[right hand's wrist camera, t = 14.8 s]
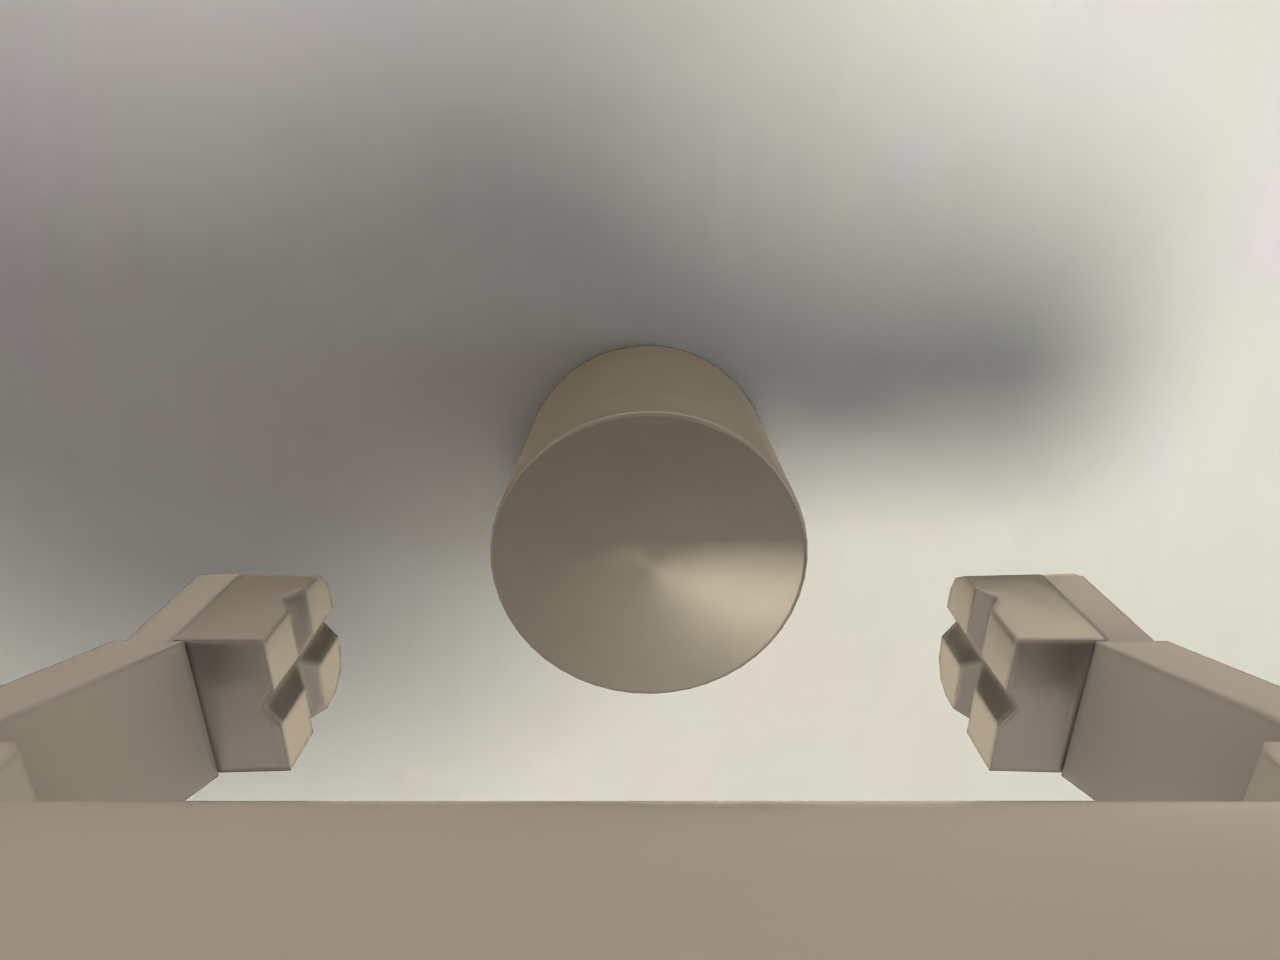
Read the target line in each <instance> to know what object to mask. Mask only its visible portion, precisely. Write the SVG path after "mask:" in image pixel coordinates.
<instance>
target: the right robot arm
mask: <svg viewBox="0 0 1280 960" xmlns="http://www.w3.org/2000/svg"><path fill="white" fill-rule="evenodd" d="M332 607H333V604H332V600H331V595H330V590H329V586H328V583H327V582H326V581H325V580H324V579H323V578H322V577H321V576H294V575H242V574H214V575H200V576H197V577H196V578H195V579H194V580H193V581H191V582H190V583H189V584H188V585H187V586H186V587H185V588H184V589H183V590H182V591H180V592H179V593H178V594H177V595H176V596H175V597H174V598H173V599H172V600H171V601H169V602H168V603H167V604H166V605H165V606H164V607H163V608H162V609H161V610H159V611H158V612H157V613H156V614H155V615H154V616H153V617H152V618H151V619H150V620H148V621H147V622H146V623H145V624H144V625H143V626H142V627H141V628H140V629H139V630H137V631H136V632H135V633H134V634H133V635H132V636H131V637H130V638H129V639H128V640H126V641H112V642H109V643H107V644H104V645H102V646H99V647H97V648H94V649H92V650H89V651H87V652H84V653H82V654H79V655H77V656H74V657H72V658H69V659H67V660H64V661H62V662H59V663H57V664H54V665H52V666H50V667H47V668H45V669H42V670H40V671H37V672H35V673H32V674H30V675H27V676H25V677H22V678H20V679H17V680H15V681H12V682H10V683H7V684H5V685H2V686H0V960H1280V686H1278V685H1275V684H1273V683H1270V682H1268V681H1265V680H1263V679H1260V678H1258V677H1255V676H1253V675H1250V674H1248V673H1245V672H1243V671H1240V670H1238V669H1235V668H1233V667H1230V666H1228V665H1225V664H1223V663H1220V662H1218V661H1215V660H1213V659H1210V658H1208V657H1205V656H1203V655H1201V654H1198V653H1196V652H1193V651H1191V650H1188V649H1186V648H1183V647H1181V646H1178V645H1176V644H1173V643H1171V642H1168V641H1154V640H1153V639H1151V638H1150V637H1149V636H1148V635H1147V634H1146V633H1145V632H1144V631H1143V630H1142V629H1140V628H1139V627H1138V626H1137V625H1136V624H1135V623H1134V622H1133V621H1132V620H1131V619H1129V618H1128V617H1127V616H1126V615H1125V614H1124V613H1123V612H1122V611H1121V610H1120V609H1118V608H1117V607H1116V606H1115V605H1114V604H1113V603H1112V602H1111V601H1110V600H1109V599H1107V598H1106V597H1105V596H1104V595H1103V594H1102V593H1101V592H1100V591H1099V590H1098V589H1096V588H1095V587H1094V586H1093V585H1092V584H1091V583H1090V582H1089V581H1088V580H1087V579H1085V578H1084V577H1083V576H1079V575H1076V574H1052V575H1041V574H1038V575H996V576H964V577H958V578H955V580H954V583H953V585H952V587H951V589H950V593H949V599H948V604H947V607H948V609H949V611H950V612H951V614H952V615H953V617H954V618H955V620H956V622H955V623H954V624H953V625H952V627H951V628H950V629H949V630H948V631H947V632H946V633H945V634H944V635H943V636H942V640H941V647H940V654H939V665H940V676H941V682H942V685H943V688H944V692H945V695H946V696H947V698H948V700H949V702H950V704H951V706H952V707H953V708H954V709H955V710H957V711H958V712H960V713H962V714H963V715H965V716H966V717H968V718H969V724H968V729H967V733H968V735H969V737H970V738H971V740H972V742H973V743H974V745H975V747H976V748H977V750H978V752H979V754H980V755H981V757H982V759H983V760H984V762H985V764H986V765H987V767H988V769H989V771H1026V772H1062V775H1061V776H1063V777H1064V778H1065V779H1067V780H1068V781H1069V782H1071V783H1072V784H1073V785H1075V786H1076V787H1077V788H1079V789H1080V790H1082V791H1083V792H1084V793H1086V794H1087V795H1088V796H1090V797H1091V798H1092V799H1094V800H1095V801H185V800H187V799H188V798H189V797H191V796H192V795H193V794H195V793H196V792H197V791H199V790H200V789H201V788H203V787H204V786H205V785H207V784H208V783H210V782H211V781H212V780H214V779H215V778H216V777H218V772H253V771H289V770H291V769H292V767H293V766H294V764H295V762H296V760H297V759H298V757H299V755H300V754H301V752H302V750H303V749H304V747H305V745H306V743H307V742H308V740H309V738H310V737H311V735H312V733H313V729H312V724H311V718H312V717H314V716H315V715H317V714H318V713H320V712H322V711H323V710H325V709H326V708H327V707H328V705H329V704H330V702H331V700H332V698H333V696H334V694H335V693H336V688H337V684H338V680H339V676H340V671H341V652H340V646H339V639H338V636H337V635H336V634H335V633H334V632H333V631H332V630H331V629H330V628H329V627H328V625H327V624H326V623H325V622H324V620H325V618H326V617H327V615H328V614H329V612H330V611H331V609H332Z"/></svg>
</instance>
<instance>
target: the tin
mask: <svg viewBox="0 0 1280 960" xmlns="http://www.w3.org/2000/svg"><path fill="white" fill-rule="evenodd" d="M806 566H807V535H806V528H805V522H804V519H803V516H802V512H801V509H800V506H799V503H798V501H797V499H796V497H795V495H794V493H793V491H792V488H791V486H790V484H789V482H788V480H787V478H786V476H785V474H784V472H783V469H782V467H781V465H780V463H779V461H778V459H777V457H776V455H775V453H774V450H773V448H772V446H771V444H770V442H769V440H768V438H767V436H766V434H765V431H764V429H763V427H762V425H761V423H760V421H759V419H758V417H757V415H756V413H755V410H754V408H753V406H752V404H751V403H750V401H749V400H748V398H747V397H746V395H745V394H744V392H743V391H742V390H741V389H740V388H739V386H738V385H737V384H736V383H735V382H734V381H733V380H732V379H731V378H730V377H729V376H728V375H726V374H725V373H724V372H723V371H722V370H720V369H719V368H717V367H716V366H714V365H713V364H711V363H710V362H708V361H706V360H704V359H702V358H700V357H698V356H695V355H693V354H690V353H687V352H684V351H681V350H678V349H672V348H667V347H660V346H637V347H627V348H623V349H618V350H613V351H610V352H608V353H605V354H602V355H599V356H597V357H595V358H593V359H591V360H589V361H587V362H585V363H583V364H582V365H580V366H579V367H577V368H576V369H575V370H573V371H572V372H570V373H569V374H568V375H567V376H566V377H565V378H564V379H563V380H562V381H560V382H559V383H558V385H557V386H556V387H555V388H554V389H553V391H552V392H551V393H550V394H549V396H548V397H547V399H546V400H545V402H544V404H543V405H542V407H541V409H540V411H539V413H538V416H537V418H536V420H535V422H534V425H533V427H532V429H531V432H530V434H529V437H528V439H527V441H526V444H525V446H524V448H523V451H522V453H521V455H520V458H519V460H518V463H517V465H516V467H515V470H514V472H513V474H512V477H511V479H510V482H509V484H508V486H507V489H506V491H505V493H504V496H503V498H502V500H501V503H500V505H499V508H498V510H497V514H496V518H495V521H494V525H493V530H492V538H491V567H492V573H493V578H494V583H495V586H496V589H497V592H498V596H499V599H500V601H501V603H502V605H503V607H504V609H505V611H506V613H507V615H508V617H509V619H510V620H511V622H512V623H513V625H514V626H515V628H516V629H517V631H518V632H519V634H520V635H521V636H522V637H523V638H524V639H525V640H526V642H527V643H528V644H529V645H530V646H531V647H532V648H533V649H534V650H535V651H536V652H538V653H539V654H540V655H541V656H542V657H543V658H544V659H546V660H547V661H549V662H550V663H551V664H553V665H554V666H556V667H557V668H559V669H560V670H562V671H564V672H566V673H568V674H570V675H572V676H573V677H575V678H577V679H580V680H583V681H585V682H588V683H590V684H593V685H596V686H600V687H603V688H607V689H611V690H616V691H623V692H629V693H647V694H653V693H668V692H675V691H680V690H686V689H691V688H694V687H697V686H701V685H704V684H708V683H710V682H712V681H715V680H717V679H719V678H722V677H724V676H726V675H728V674H730V673H731V672H733V671H735V670H737V669H738V668H740V667H742V666H743V665H745V664H746V663H747V662H749V661H750V660H751V659H753V658H754V657H756V656H757V655H758V654H759V653H760V652H761V651H762V650H763V649H764V648H765V647H766V646H767V645H769V644H770V643H771V641H772V640H773V639H774V638H775V636H776V635H777V634H778V633H779V632H780V630H781V629H782V628H783V626H784V625H785V623H786V621H787V620H788V618H789V617H790V615H791V613H792V611H793V609H794V607H795V605H796V602H797V600H798V598H799V596H800V593H801V589H802V586H803V582H804V579H805V573H806Z"/></svg>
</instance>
